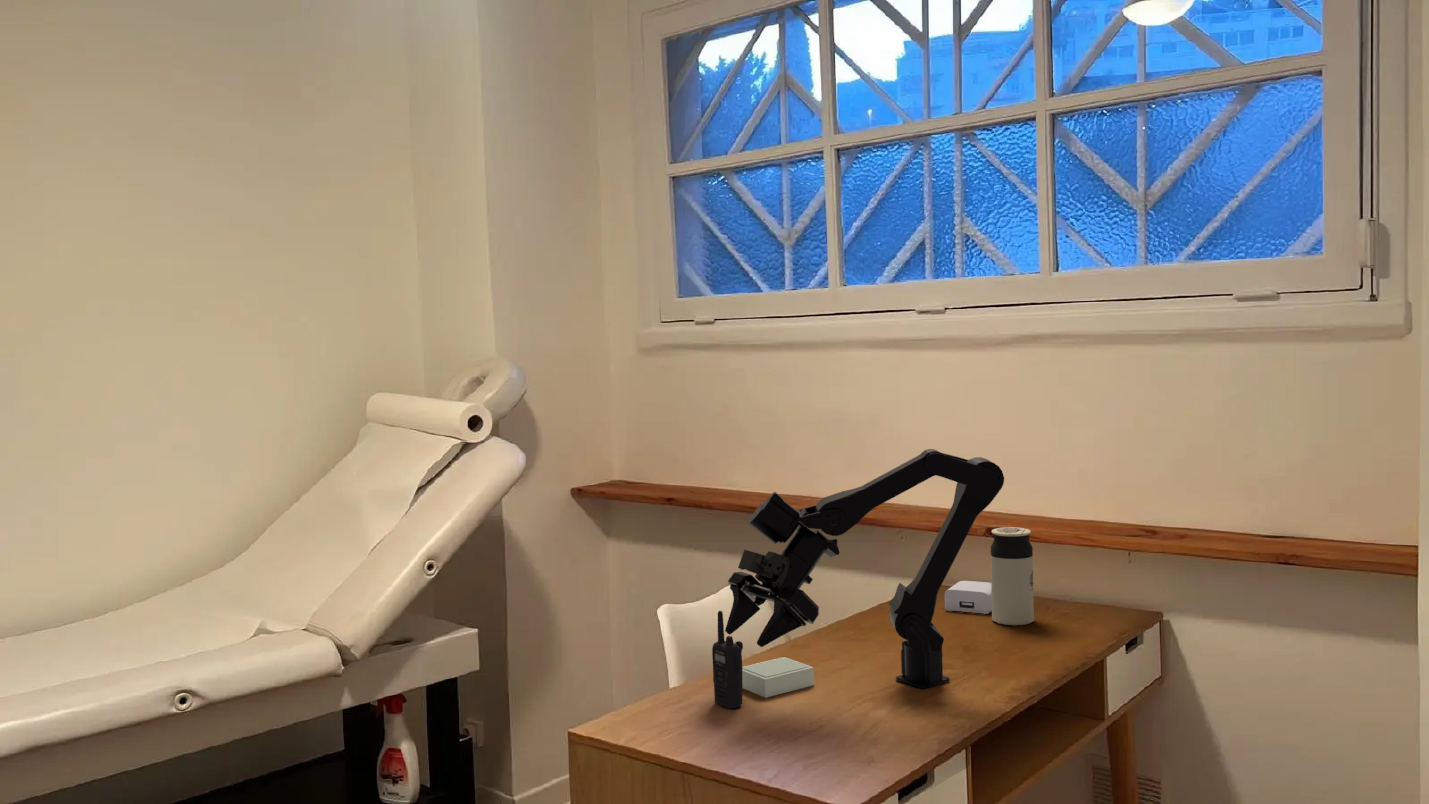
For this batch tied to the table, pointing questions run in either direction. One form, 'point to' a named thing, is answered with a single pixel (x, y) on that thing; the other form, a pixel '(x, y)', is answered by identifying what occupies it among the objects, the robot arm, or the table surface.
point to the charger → (969, 597)
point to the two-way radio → (727, 669)
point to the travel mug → (1012, 576)
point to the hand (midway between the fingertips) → (742, 639)
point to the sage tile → (776, 677)
